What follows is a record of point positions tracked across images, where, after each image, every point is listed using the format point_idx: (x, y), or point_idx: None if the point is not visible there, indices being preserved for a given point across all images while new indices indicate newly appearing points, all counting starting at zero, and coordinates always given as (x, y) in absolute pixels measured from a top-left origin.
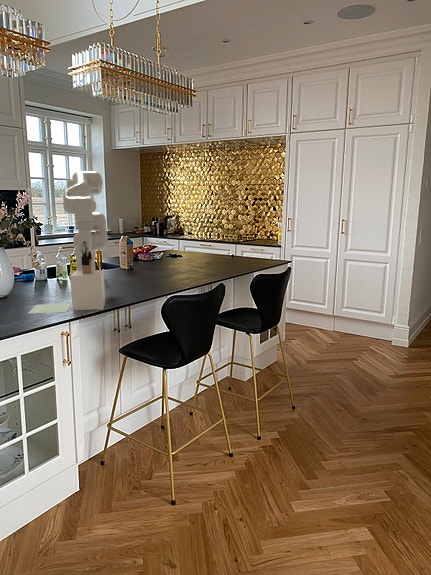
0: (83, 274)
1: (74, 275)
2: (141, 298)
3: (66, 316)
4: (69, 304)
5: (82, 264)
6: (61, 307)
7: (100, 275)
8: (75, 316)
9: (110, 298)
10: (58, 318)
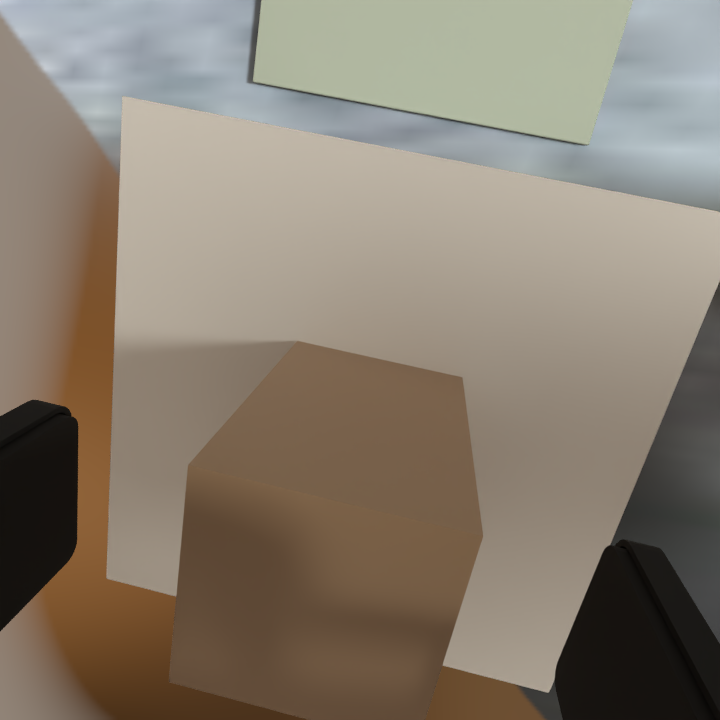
0: (214, 349)
1: (141, 182)
2: (531, 691)
3: (131, 83)
4: (547, 120)
5: (28, 416)
6: (446, 32)
7: (112, 565)
8: (117, 160)
9: (657, 505)
10: (81, 10)
